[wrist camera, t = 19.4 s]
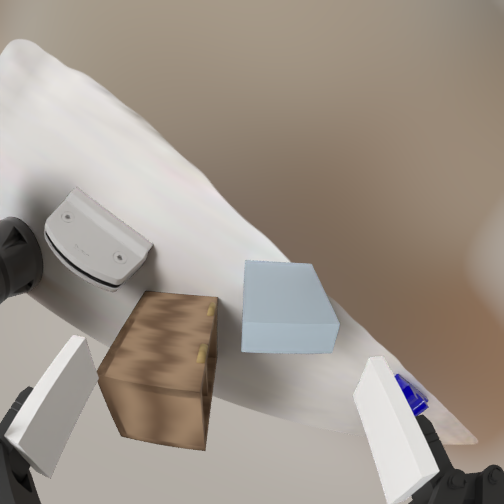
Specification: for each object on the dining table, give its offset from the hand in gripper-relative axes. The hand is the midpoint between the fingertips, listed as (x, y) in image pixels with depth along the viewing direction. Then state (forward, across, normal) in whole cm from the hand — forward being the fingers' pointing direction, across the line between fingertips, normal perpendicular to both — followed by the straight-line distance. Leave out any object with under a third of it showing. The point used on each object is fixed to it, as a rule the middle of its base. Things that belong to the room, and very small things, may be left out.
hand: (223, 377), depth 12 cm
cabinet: (+31, -9, -20) cm, 38 cm away
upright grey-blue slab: (+31, +6, -9) cm, 33 cm away
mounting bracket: (+31, +40, -40) cm, 65 cm away
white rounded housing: (+31, -22, -4) cm, 38 cm away
